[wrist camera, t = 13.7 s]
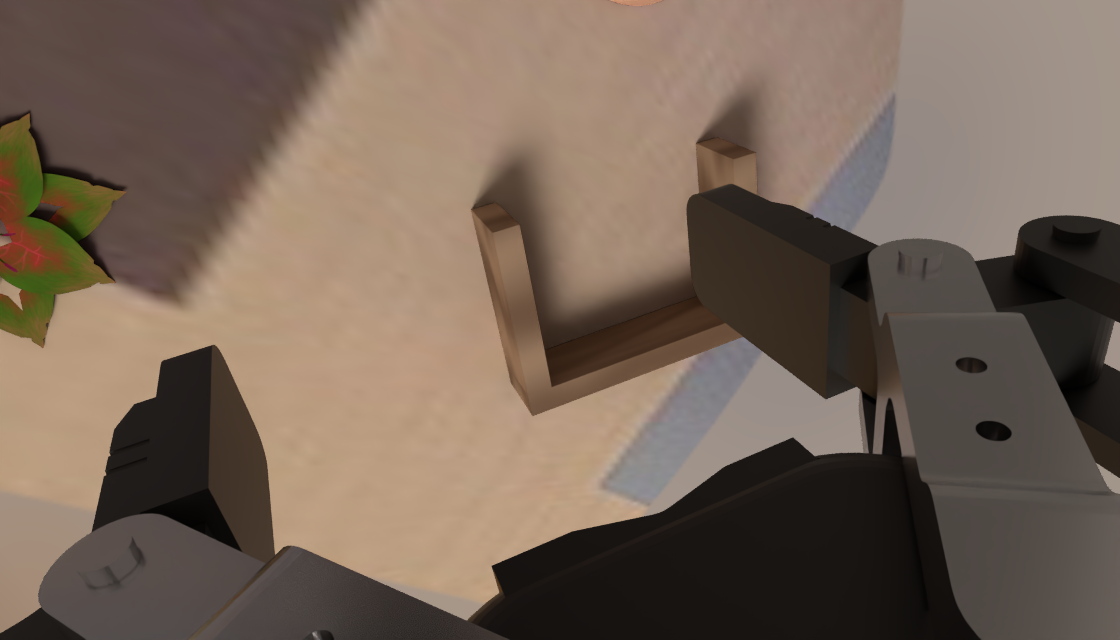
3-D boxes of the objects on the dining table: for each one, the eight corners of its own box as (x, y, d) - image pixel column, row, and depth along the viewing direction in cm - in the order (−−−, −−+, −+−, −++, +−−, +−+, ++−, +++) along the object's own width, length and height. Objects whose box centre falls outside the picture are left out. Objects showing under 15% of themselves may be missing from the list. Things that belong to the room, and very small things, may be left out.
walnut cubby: (471, 209, 42) (492, 232, 38) (717, 137, 46) (755, 152, 42) (511, 383, 48) (532, 415, 44) (725, 305, 52) (759, 330, 48)
